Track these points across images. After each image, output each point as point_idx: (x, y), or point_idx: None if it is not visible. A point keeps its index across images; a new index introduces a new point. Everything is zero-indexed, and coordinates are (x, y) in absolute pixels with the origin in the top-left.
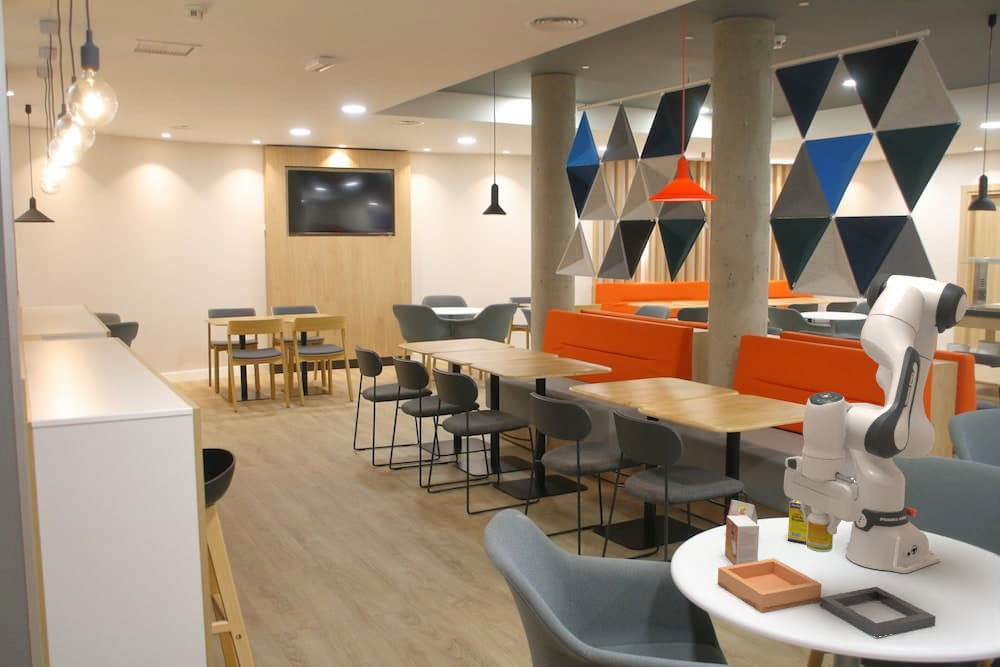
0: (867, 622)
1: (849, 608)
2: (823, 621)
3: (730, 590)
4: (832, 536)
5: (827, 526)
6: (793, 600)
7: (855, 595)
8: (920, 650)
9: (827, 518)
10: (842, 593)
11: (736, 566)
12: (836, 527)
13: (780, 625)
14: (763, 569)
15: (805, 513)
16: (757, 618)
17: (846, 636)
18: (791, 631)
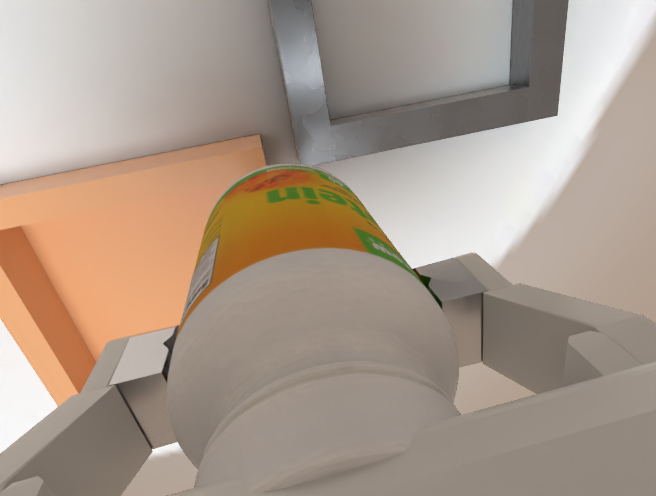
0: (513, 114)
1: (409, 112)
2: (397, 205)
3: None
4: (372, 219)
5: (464, 360)
6: None
7: (311, 3)
8: (645, 15)
9: (444, 390)
10: (283, 52)
11: (62, 384)
12: (506, 285)
13: None
14: (24, 266)
15: (130, 475)
16: None
17: (493, 189)
18: None
